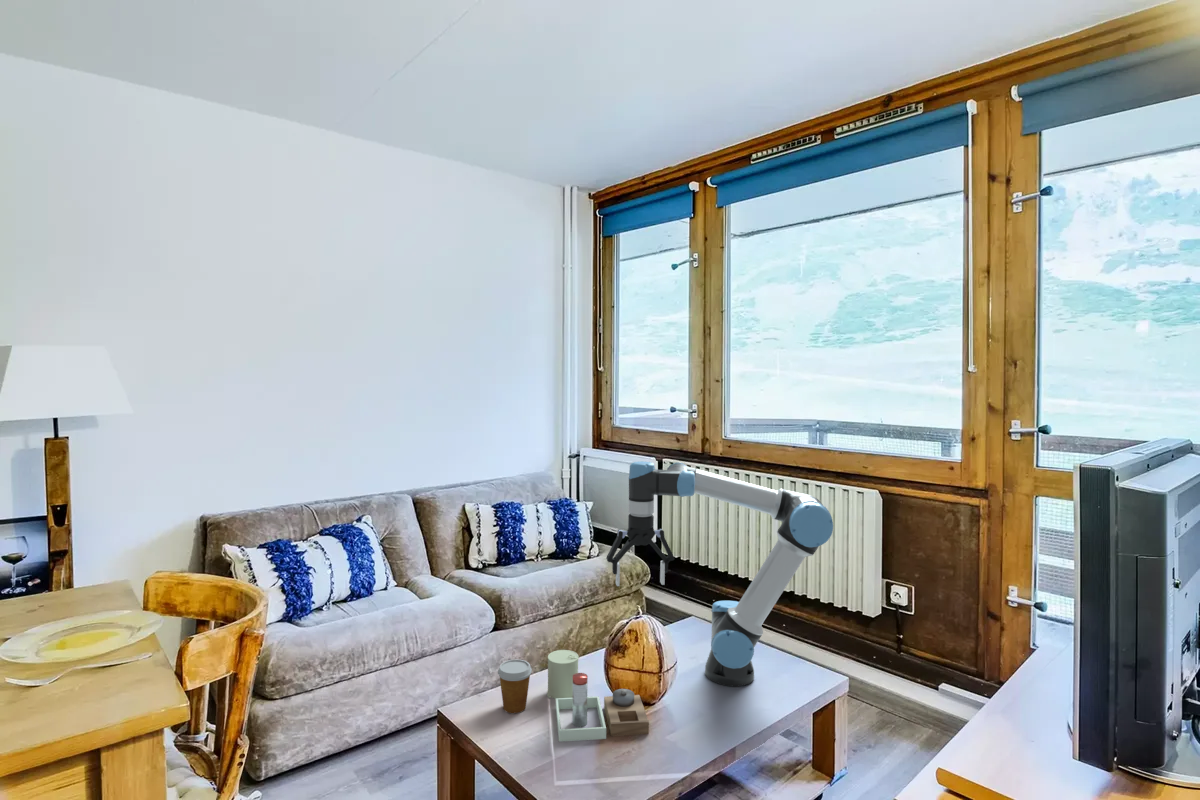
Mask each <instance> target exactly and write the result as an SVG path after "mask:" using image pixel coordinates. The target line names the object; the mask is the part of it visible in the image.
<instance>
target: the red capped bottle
mask: <svg viewBox="0 0 1200 800" xmlns="http://www.w3.org/2000/svg"><path fill="white" fill-rule="evenodd" d="M588 677H589V676H588V675H587V673H584V672H578V673H576V674H574V675H573V703H572V709H571V710H572V718H571V719H572V720H571V721H572V725H573V726H574V727H576V728H577V727H578V728H585V726H587V725H588V708H587V697H588V684H589V683H588V682H589V681H588Z"/></svg>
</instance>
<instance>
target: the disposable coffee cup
mask: <svg viewBox="0 0 1200 800" xmlns="http://www.w3.org/2000/svg"><path fill="white" fill-rule="evenodd" d="M532 671H533V670H532V666H531V664H530V662H528V661H527V660H525V659H516V658H515V659H508V660H506V661H503V662H502V663H501V664H499V668H498V670H497V674H498V676H499V682H500V689H501V698H502V705H503V711H504V712H506V713H508V714H518V713H519V714H520V713H522V712H524V711H525V710H526V709H527V701H528V694H529V693H528V692H529V685H530V678H531V673H532Z"/></svg>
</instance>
